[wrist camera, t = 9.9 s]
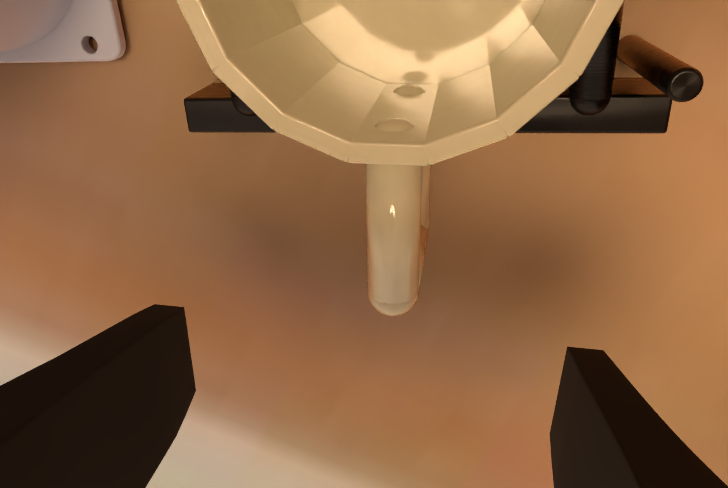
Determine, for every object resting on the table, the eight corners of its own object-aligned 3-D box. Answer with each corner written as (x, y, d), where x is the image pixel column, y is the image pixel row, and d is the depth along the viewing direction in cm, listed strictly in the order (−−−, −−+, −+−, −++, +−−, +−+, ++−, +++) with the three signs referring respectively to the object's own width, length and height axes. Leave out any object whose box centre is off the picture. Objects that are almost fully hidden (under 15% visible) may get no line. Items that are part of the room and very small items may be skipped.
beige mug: (251, -250, 13) (116, -369, 8) (607, -274, 12) (703, -428, 7) (288, 221, 18) (217, 327, 13) (541, 235, 17) (570, 356, 12)
